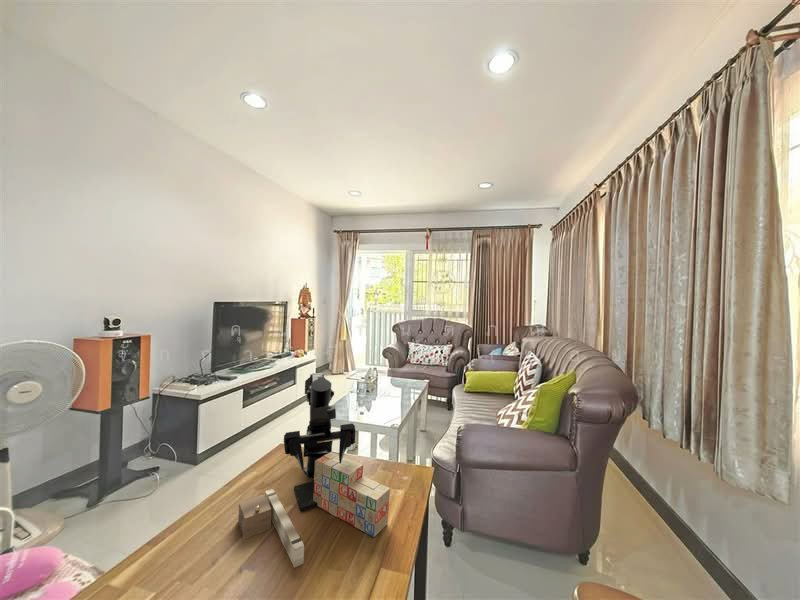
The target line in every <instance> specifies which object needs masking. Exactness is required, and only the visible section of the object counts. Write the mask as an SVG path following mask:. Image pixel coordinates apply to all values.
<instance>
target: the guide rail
mask: <svg viewBox="0 0 800 600" xmlns="http://www.w3.org/2000/svg"><path fill="white" fill-rule="evenodd" d="M276 492H277V491H275V490H274V489H273V488H270V489H267V490H265V491H264V495H265V497H266V499H267V501H268V503H269V505H270V507H271V523H273V526H274V528H275V530H276V532H277V534H278V537H279V539H280V540H281V542H282V545H283V547H284V549H285V551H286V553H287V555H288V558H289V559H290V562H291V563H292V566H293V568H297V567H299V566H302V565H303V564H304V561H305V560H304V559H305V545H304V542H303V539H302V538H301V536H300V535H299V534H298V532H297V530H296V528H295V526H294V524H293V522H292V520H291V518H290V517H289V515H288V513H287V511H286V510H285V508H284V506H283V504H282V502H281V501H280V499H279V497H278V495H277V493H276Z"/></svg>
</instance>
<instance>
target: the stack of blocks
mask: <svg viewBox="0 0 800 600" xmlns="http://www.w3.org/2000/svg"><path fill="white" fill-rule="evenodd" d="M363 475H364V465H363V464H361V463H359V462H357V461H354V460H351V459H349V458H346V457H345V456H343V459H342V462H341V463H339V454H337V453H335V452H330V453H328V454H326V455H324V456H322V457H321V458H319V459H317V460H315V472H314V478H313V480H314V495H313V501H315V502H316V503H318V506H317V507H319V508H320V509H322V510H324V511H325V512H327V513H329V514H331V515H332V516H333V517H336V518H339V519H341V520H342V521H344V522H346V523H348V524H349V525H352V526H353V527H355V528H356V529H358V530H360V531H362V532H364V534H367V535H369V536H371V537H372V538H375V537H376V536H377V535H378V534H379V533H380V532H381V531H382V530H383V529H385V526H387V525H388V522H389V507H390V497H391V496H390V494H391V489H390V487H389V486H386V485H384V484H382V483H380V482H377V481H376V480H372V479H370V478H369V477H365V476H363Z"/></svg>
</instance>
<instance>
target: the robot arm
mask: <svg viewBox="0 0 800 600" xmlns="http://www.w3.org/2000/svg"><path fill="white" fill-rule="evenodd" d="M324 374H325V373H322V372H314V373H310V374H309V377H308V378H307V379H306V380H305V381H304V395H306V402H307V403H308V405H309V422H308V423H309V424H308V426H307V428H306V433H305V434H302V435H301V433H300V432H301V430H295V431H294V430H293V431H289V432H288V431H287V432H285V433H284V435H283V445H284V446H283V447H284V454H285V455H290V456H291V457H294V458H295V459H296V461H297V462H298V465H299V467H300V469H301V470H302V471H304V473H305V474H306V476H307V477H308V478H309V479H314V472H315V460H317V459H319V458H321V457H322V456H324V455H326V454H328V453H330V452H332V451H333V441H339V449H338V450H339V451H338V455H339V463H341V462H342V459H343V457H344V455H345V453H346V451H347V450H348V449H347V448H350V447H351V445H354V444H355V443H356V426H355V423H345V424H340V425H339V426H340V427H339V431H332V421H331V420H336V418H337V411H336V405H329V404H330V403H331V401H332V400H333V399H332V398H333V397H334V396H335V391H334V390H332V382H331V381H330V380H328V379H327V378H326V377H325V375H324ZM302 445H303V447H302ZM305 457H307V460H306V461H307V462H306V463H307V465H306V466H305V464H304V458H305Z"/></svg>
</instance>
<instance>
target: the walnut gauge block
mask: <svg viewBox="0 0 800 600" xmlns="http://www.w3.org/2000/svg"><path fill="white" fill-rule="evenodd" d="M271 524H272V520H271V507H270V505H269V503H268V501H267V499H266V497H265V493H264V494H260V495H257V496H254V497H251V498H248V499H245V500H243V501H239V502H238V525H239V527H240V531H241V533H242V537H243V539H244V540H245V539H249V538H250V537H252V536H255V535H258V534H260V533H263V532H265V531H267V530H270V529H271V527H272V525H271Z"/></svg>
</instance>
